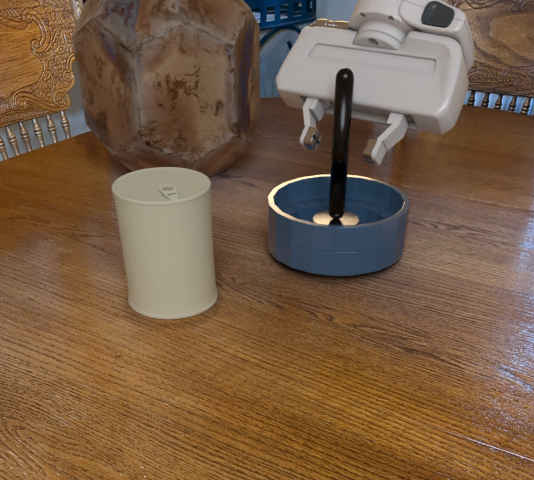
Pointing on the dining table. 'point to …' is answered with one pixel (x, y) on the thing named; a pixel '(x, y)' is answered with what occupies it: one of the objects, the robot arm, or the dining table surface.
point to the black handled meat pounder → (340, 153)
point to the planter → (170, 80)
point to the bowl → (337, 226)
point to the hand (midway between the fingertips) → (338, 153)
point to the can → (167, 241)
